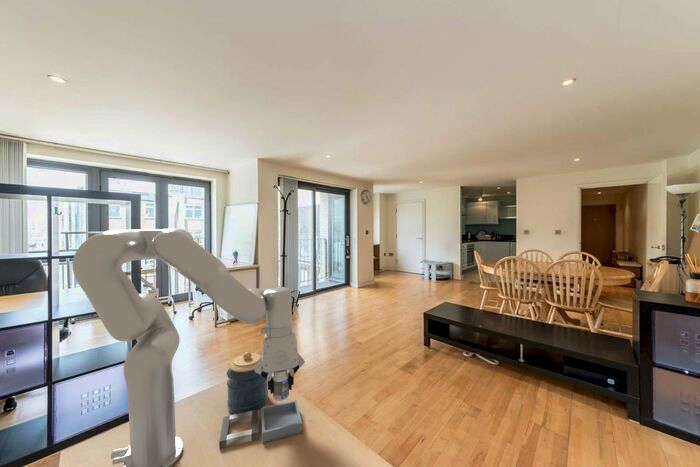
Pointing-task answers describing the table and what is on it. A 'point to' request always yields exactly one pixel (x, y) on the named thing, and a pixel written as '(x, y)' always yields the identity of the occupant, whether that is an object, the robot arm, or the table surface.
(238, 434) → the socket block
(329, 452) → the table surface
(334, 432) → the table surface
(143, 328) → the robot arm
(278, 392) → the pill bottle
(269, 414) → the tray
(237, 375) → the canister
